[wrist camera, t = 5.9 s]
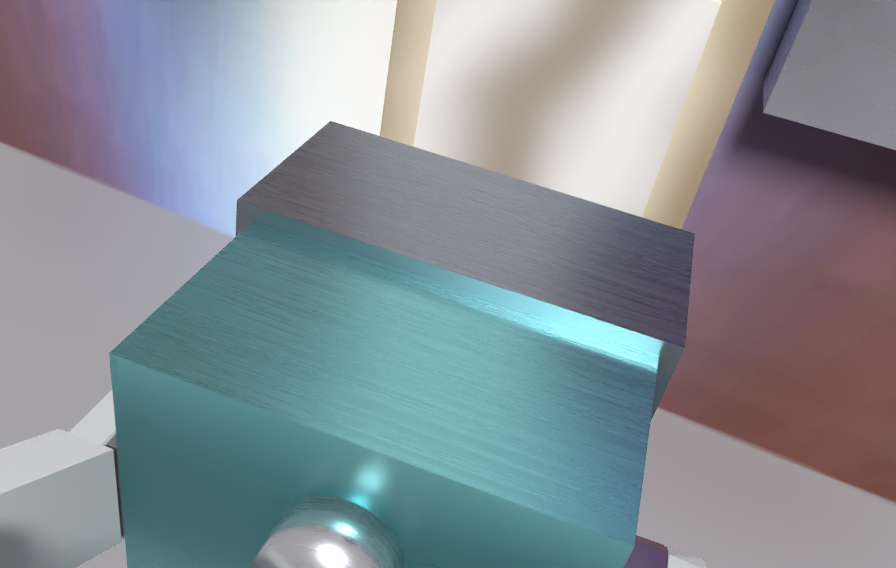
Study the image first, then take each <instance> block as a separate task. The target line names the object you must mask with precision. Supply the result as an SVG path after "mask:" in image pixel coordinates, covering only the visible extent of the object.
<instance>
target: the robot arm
mask: <svg viewBox="0 0 896 568" xmlns="http://www.w3.org/2000/svg"><path fill="white" fill-rule="evenodd" d="M122 538H123V539H125V532H124V520H123V508H122V497H121V485H120V473H119V462H118V450H117V438H116V427H115V415H114V403H113V391H112V390H111V391H110V392H109V393H108V394H107V395H106V396H105V397H104V398H103V399H102V400H101V401H100V402H99V403H98V404H97V405H96V406H94V407H93V408H92V409H91V410H90V411H89V412H88V413H87V414H86V415H85V416H84V417H83V418H82V419H81V420H80V421H79V422H78V424H76V425H75V426H74V427H73V428H72V429H71V430H70V431H69V432H67V431H64V430H62V429H57V430H54V431H51V432H48V433H45V434H42V435H40V436H37V437H34V438H31V439H28V440H25V441H22V442H19V443H16V444H13V445H10V446H7V447H4V448H1V449H0V568H75V567H77V566H79V565H80V564H82V563H84V562H86V561H88V560H90V559H92V558H93V557H95V556H97V555H99V554H101V553H102V552H104V551H106V550H108V549H110V548H111V547H113V546H115V545H117V544H119V543H120V542H121V541H122ZM624 568H707V567H706V564H705V562H704V560H703V559H700V558H697V557H694V556H692V555H689V554H686V553H683V552H680V551H678V550H675V549H672V548H669V547H665V546H664V545H662V544H659V543H657V542H654V541H651V540H648V539H645V538H642V537H639V536H636V538H635V546H634V549H633V551H632V553H631V554H630V556H629V558H628V560H627V562H626V564H625V566H624Z"/></svg>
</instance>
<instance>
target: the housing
mask: <svg viewBox="0 0 896 568" xmlns="http://www.w3.org/2000/svg"><path fill="white" fill-rule="evenodd" d="M693 246H694V233H691V232H688V231H685V230H681V229H678V228H675V227H672V226H668V225H665V224H662V223H659V222H655V221H652V220H649V219H646V218H643V217H639V216H636V215H633V214H630V213H626V212H623V211H620V210H617V209H613V208H610V207H607V206H604V205H600V204H597V203H594V202H591V201H588V200H584V199H581V198H578V197H575V196H571V195H568V194H565V193H562V192H558V191H555V190H552V189H549V188H545V187H542V186H539V185H536V184H533V183H529V182H526V181H523V180H520V179H516V178H513V177H510V176H507V175H503V174H500V173H497V172H494V171H490V170H487V169H484V168H481V167H478V166H474V165H471V164H468V163H465V162H461V161H458V160H455V159H452V158H448V157H445V156H442V155H439V154H435V153H432V152H429V151H426V150H423V149H419V148H416V147H413V146H410V145H406V144H403V143H400V142H397V141H393V140H390V139H387V138H384V137H380V136H377V135H374V134H371V133H368V132H364V131H361V130H358V129H355V128H351V127H348V126H345V125H342V124H338V123H335V122H332V121H330V122H329V123H328V124H327V125H325V126H324V127H323V128H322V129H321V130H319V131H318V132H317V133H316V134H315V135H314V136H312V137H311V138H310V139H309V140H308V141H306V142H305V143H304V144H303V145H302V146H301V147H299V148H298V149H297V150H296V151H295V152H294V153H292V154H291V155H290V156H289V157H288V158H286V159H285V160H284V161H283V162H282V163H281V164H279V165H278V166H277V167H276V168H275V169H273V170H272V171H271V172H270V173H269V174H268V175H266V176H265V177H264V178H263V179H262V180H260V181H259V182H258V183H257V184H256V185H255V186H253V187H252V188H251V189H250V190H249V191H248V192H246V193H245V194H244V195H243V196H242V197H240V198H239V199H238V200H237V216H236V237H235V238H234V239H233V240H232V241H231V242H230V243H229V244H228V245H227V246H226V247H224V248H223V249H222V250H221V251H220V252H219V253H218V254H217V255H216V256H215V257H213V258H212V259H211V261H209V262H208V263H207V264H206V265H205V266H204V267H203V268H202V269H200V270H199V271H198V272H197V273H196V274H195V275H194V276H193V277H192V278H191V279H190V280H189V281H187V282H186V283H185V284H184V285H183V286H182V287H181V288H180V289H179V290H178V291H177V292H175V293H174V295H172V296H171V297H170V298H169V299H168V300H167V301H166V302H165V303H163V305H161V306H160V307H159V308H158V309H157V310H156V311H155V312H154V313H153V314H152V315H151V316H149V317H148V318H147V319H146V320H145V321H144V322H143V323H142V324H141V325H140V326H138V327H137V328H136V329H135V330H134V331H133V332H132V333H131V334H130V335H129V336H128V337H126V338H125V339H124V340H123V341H122V342H121V343H120V344H119V345H118V346H117V347H116V348H115V349H114V350H112V351H111V352H110V353H109V355H110V368H111V379H112V391H113V403H114V415H115V427H116V438H117V450H118V462H119V473H120V485H121V497H122V508H123V520H124V532H125V544H126V555H127V567H128V568H624V566H625V564H626V562H627V560H628V558H629V556H630V554H631V553H632V551H633V549H634V546H635V538H636V530H637V522H638V514H639V506H640V499H641V491H642V483H643V475H644V468H645V460H646V452H647V445H648V437H649V429H650V422H651V419H652V417H653V415H654V413H655V411H656V409H657V407H658V405H659V402H660V400H661V398H662V396H663V394H664V392H665V390H666V387H667V385H668V383H669V381H670V379H671V377H672V375H673V372H674V370H675V368H676V366H677V364H678V362H679V360H680V358H681V355H682V353H683V351H684V349H685V340H686V329H687V317H688V305H689V293H690V282H691V270H692V258H693Z"/></svg>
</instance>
